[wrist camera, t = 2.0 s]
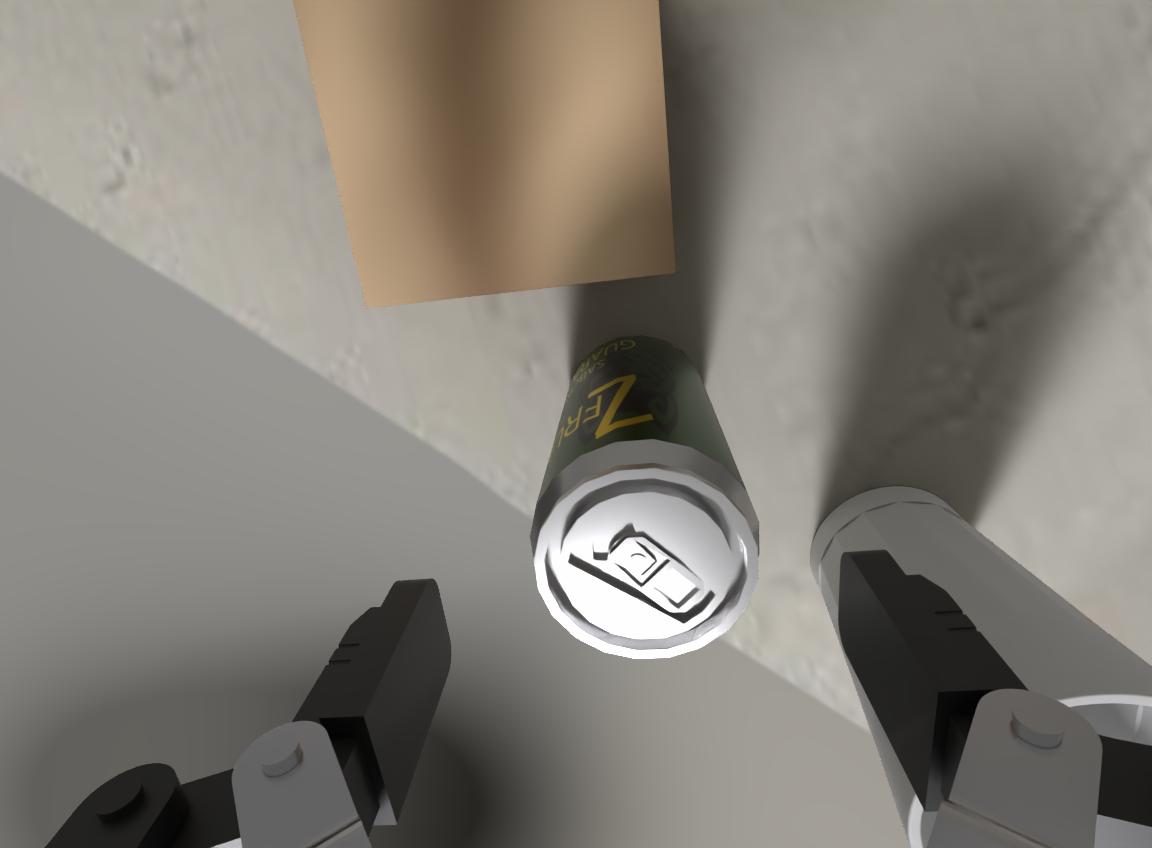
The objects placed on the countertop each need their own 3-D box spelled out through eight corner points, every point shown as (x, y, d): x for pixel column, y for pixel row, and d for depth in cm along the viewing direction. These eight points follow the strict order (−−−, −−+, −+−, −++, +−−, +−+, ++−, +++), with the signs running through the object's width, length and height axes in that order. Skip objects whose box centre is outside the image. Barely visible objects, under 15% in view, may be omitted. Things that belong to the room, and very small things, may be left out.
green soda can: (732, 389, 24) (824, 560, 13) (643, 482, 26) (656, 703, 15) (627, 302, 23) (630, 406, 12) (542, 405, 25) (476, 578, 14)
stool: (642, -40, 20) (650, -131, 14) (663, 252, 23) (676, 272, 17) (372, 7, 21) (278, -61, 15) (427, 280, 24) (366, 308, 18)
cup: (794, 471, 25) (928, 694, 14) (1000, 463, 25) (1312, 692, 13) (786, 630, 28) (893, 920, 17) (971, 627, 27) (1209, 930, 16)
